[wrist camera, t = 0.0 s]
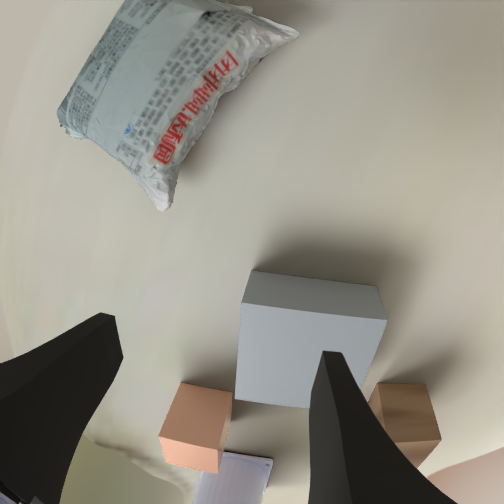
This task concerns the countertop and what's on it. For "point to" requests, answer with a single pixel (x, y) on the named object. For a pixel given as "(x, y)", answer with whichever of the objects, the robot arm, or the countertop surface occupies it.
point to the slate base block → (302, 334)
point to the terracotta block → (197, 428)
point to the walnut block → (407, 418)
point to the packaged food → (164, 82)
